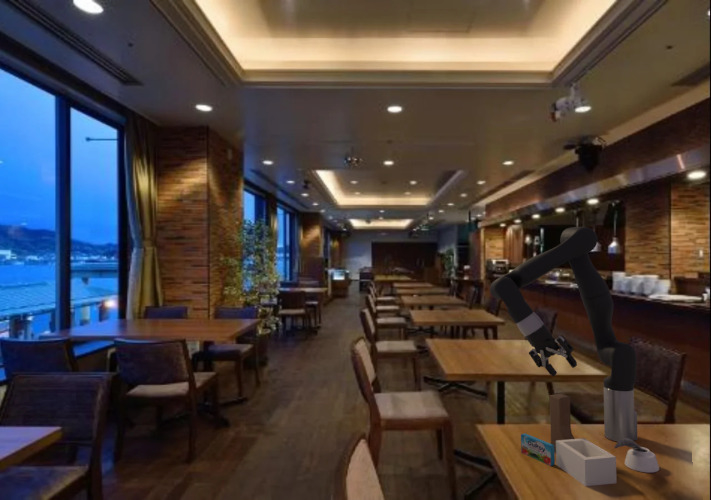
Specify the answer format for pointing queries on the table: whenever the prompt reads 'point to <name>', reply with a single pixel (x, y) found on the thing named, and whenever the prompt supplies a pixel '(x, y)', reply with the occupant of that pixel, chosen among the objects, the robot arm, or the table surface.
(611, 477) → the base block
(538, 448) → the yogurt
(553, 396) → the wooden block
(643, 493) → the table surface
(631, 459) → the inkwell
